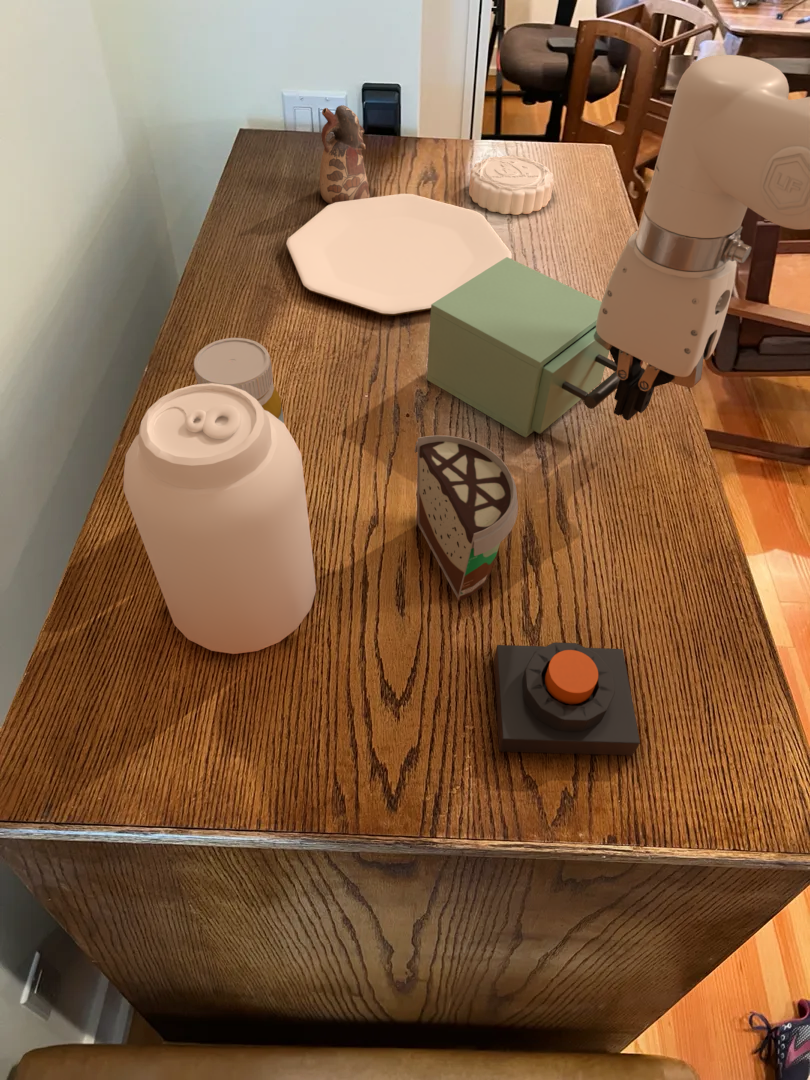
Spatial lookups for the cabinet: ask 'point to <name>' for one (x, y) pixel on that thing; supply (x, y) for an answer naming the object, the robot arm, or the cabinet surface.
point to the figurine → (342, 158)
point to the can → (223, 517)
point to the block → (562, 704)
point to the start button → (571, 677)
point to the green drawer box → (504, 338)
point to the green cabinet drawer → (573, 380)
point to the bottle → (240, 370)
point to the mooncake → (510, 185)
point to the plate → (393, 252)
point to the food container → (463, 507)
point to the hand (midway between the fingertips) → (628, 410)
